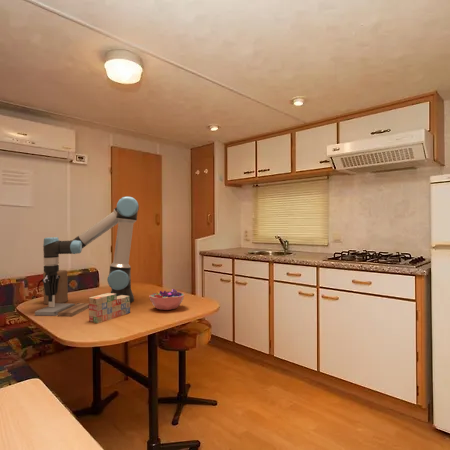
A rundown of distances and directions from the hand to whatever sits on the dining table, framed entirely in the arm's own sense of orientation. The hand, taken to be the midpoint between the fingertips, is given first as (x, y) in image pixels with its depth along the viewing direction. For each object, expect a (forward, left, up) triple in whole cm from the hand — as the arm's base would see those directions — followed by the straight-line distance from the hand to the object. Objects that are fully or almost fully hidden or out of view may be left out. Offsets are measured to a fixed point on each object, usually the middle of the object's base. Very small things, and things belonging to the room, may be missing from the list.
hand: (51, 306), depth 184 cm
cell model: (-64, -7, -3) cm, 65 cm away
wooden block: (+10, -19, -3) cm, 22 cm away
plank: (-2, 0, -2) cm, 3 cm away
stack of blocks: (-38, +9, -3) cm, 40 cm away
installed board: (-14, 0, -3) cm, 14 cm away
